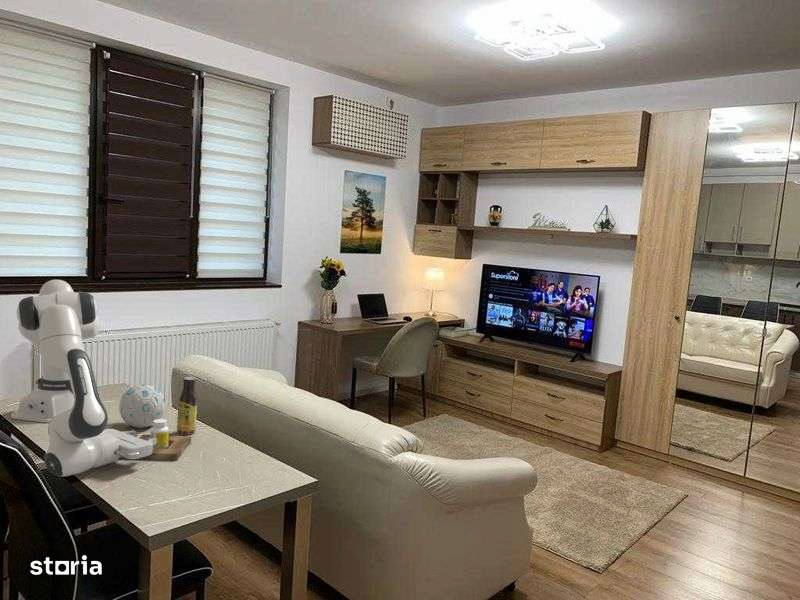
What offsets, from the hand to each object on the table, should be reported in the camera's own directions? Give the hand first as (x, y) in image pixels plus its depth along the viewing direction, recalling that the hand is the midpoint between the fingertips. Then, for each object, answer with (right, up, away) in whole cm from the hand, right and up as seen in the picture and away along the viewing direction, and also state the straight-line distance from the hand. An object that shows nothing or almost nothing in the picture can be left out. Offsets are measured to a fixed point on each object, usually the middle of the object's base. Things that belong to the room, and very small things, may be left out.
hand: (145, 436), depth 192 cm
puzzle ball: (-12, -2, +26) cm, 29 cm away
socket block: (+2, -5, +5) cm, 8 cm away
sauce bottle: (+5, -4, +22) cm, 23 cm away
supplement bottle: (+2, -6, +5) cm, 8 cm away
